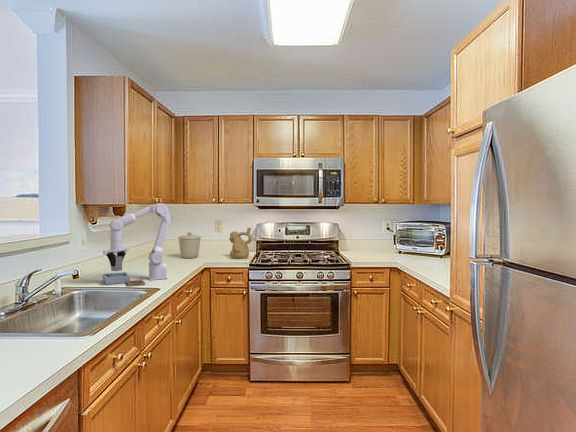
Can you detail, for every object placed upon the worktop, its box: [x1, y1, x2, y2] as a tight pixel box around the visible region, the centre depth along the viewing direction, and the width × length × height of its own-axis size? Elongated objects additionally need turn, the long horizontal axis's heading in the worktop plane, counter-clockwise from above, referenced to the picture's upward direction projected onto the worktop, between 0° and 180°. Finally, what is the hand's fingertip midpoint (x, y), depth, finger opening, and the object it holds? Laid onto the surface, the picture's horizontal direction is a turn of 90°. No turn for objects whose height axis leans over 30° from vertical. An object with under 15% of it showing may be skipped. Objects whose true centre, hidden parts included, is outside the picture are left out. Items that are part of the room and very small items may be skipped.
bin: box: [102, 271, 131, 286], centre depth 211 cm, size 12×12×4 cm
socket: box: [125, 279, 146, 287], centre depth 206 cm, size 8×8×1 cm
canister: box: [177, 231, 202, 259], centre depth 305 cm, size 18×18×21 cm
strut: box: [110, 254, 123, 272], centre depth 210 cm, size 4×4×8 cm
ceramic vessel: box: [229, 227, 253, 260], centre depth 307 cm, size 17×20×25 cm
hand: (116, 265), depth 211 cm, fingers closed on strut, 4 cm apart
